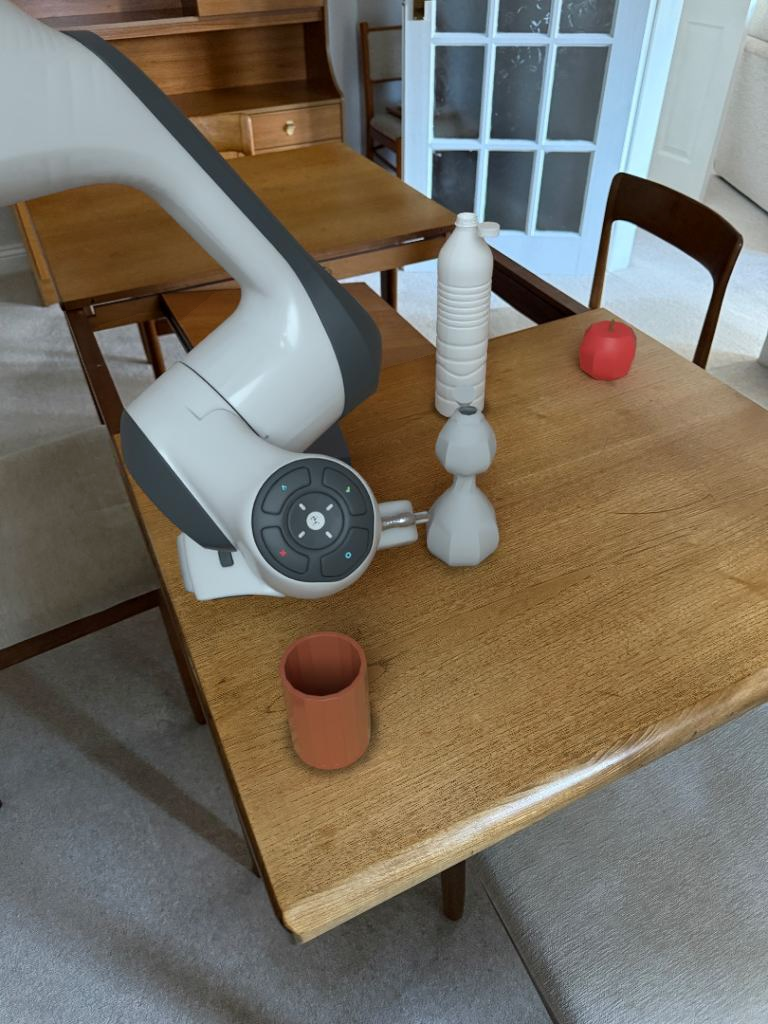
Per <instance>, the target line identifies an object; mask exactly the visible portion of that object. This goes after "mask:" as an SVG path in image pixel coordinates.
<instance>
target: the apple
mask: <svg viewBox="0 0 768 1024" xmlns="http://www.w3.org/2000/svg"><path fill="white" fill-rule="evenodd" d="M578 351H579V363H580V364H579V369H581V371H584V372H585V373H587V374H588V375H589V376H590V377H592V378H593V380H596V381H597V380H598V381H607V382H608V381H612V380H617V379H620V378H622V377H625V376H627V375H628V373H629V371H630V368H631V366H632V364H633V362H634V359H635V356H636V352H637V336H636V334H635V331H634V330H633V328H632V327H631V326H629V325H627V324H625V323H624V322H623V321H615V320H614V319H611V320H604V319H603V320H601V321H597V322H595V323H594V322H593V323H592V324H591V325H590V326H589V327H587V329H586V330H585V332H584V334H583V337H582V339H581V342H580V346H579V349H578Z"/></svg>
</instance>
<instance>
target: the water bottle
mask: <svg viewBox="0 0 768 1024" xmlns="http://www.w3.org/2000/svg"><path fill="white" fill-rule="evenodd" d="M454 225H455V228H454V229H453V231H452V232H451V234H450V235H449V236H448V238H447V240H446V241H445V243H443V245H442V247H441V248H440V250H439V253H438V256H437V262H436V273H437V275H436V276H437V281H436V283H437V285H436V290H437V292H436V297H437V298H436V324H435V325H436V326H435V333H436V338H435V349H436V350H435V361H436V363H435V379H434V380H435V381H434V382H435V383H434V386H435V392H434V407H435V409H436V411H437V412H438V413H439V414H440V415H441V416H443V417H446V418H450V417H451V415H452V414H453V413H454V411H455V410H456V409H457V408H459V407H461V406H459V405H458V404H457V402H456V401H455V399H454V397H453V391H454V389H455V388H456V387H457V386H459V385H470V386H472V387H473V388H474V389H475V391H476V397H475V399H474V400H473V402H472V403H471V404H470V405H469V406H473V407H476V408H478V409H479V411H480V412H481V413H482V411H483V410H484V407H485V397H486V396H485V393H486V392H485V389H486V375H487V360H488V347H489V332H490V311H491V297H492V292H491V291H492V282H493V279H492V277H493V271H494V257H493V252H492V249H491V247H490V245H489V244H488V242H487V240H486V239H493V238H496V237H499V236H500V232H501V231H500V229H501V225H500V224H499V223H498V222H494V221H482V222H479V221H478V215H477V214H476V213H474V212H460V213H458V214H457V215H456V219H455V222H454Z"/></svg>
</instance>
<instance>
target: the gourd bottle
mask: <svg viewBox="0 0 768 1024" xmlns="http://www.w3.org/2000/svg"><path fill="white" fill-rule="evenodd" d="M453 397H454V399H455V401H456V402H457V404H458V405H459V406H461V407H459V408H457V409H456V410H455V411H454V413H453V414H452V415H451V417H448V419H447V421H446V422H445V424H444V425H443V427H442V429H441V430H440V432H439V433H438V435H437V439H436V442H435V447H434V448H435V449H434V453H435V457H436V459H437V460H438V462H439V463H440V464H441V465H442V467H443V468H444V470H446V472H447V473H448V474H451V475H452V474H453V478H452V479H453V480H452V484H451V486H449V487H448V488H447V489H446V490H445V491H444V492H443V493H442V494H441V495H440V496H438V498H437V499H436V500H435V501H433V504H432V505H431V506H430V508H429V510H428V511H427V512H428V514H429V518H428V519H429V521H428V522H425V532H426V533H425V534H426V545H427V549H428V552H429V554H431V555H433V556H434V557H435V558H437V559H439V560H440V561H442V562H443V563H445V564H447V566H449V567H451V568H452V567H453V568H454V567H476V566H478V565H479V564H480V563H481V562H483V561H484V560H485V559H487V558H488V557H490V556H491V555H492V554H493V553H494V552H496V550H497V549H498V546H499V543H500V533H499V527H498V520H497V515H496V510H495V508H494V506H493V504H492V502H491V500H490V499H489V498H488V497H487V496H486V494H485V493H484V492H483V491H482V490H481V489H480V488H479V487H478V486H477V484H476V480H477V479H476V478H477V477H476V475H480V474H482V473H486V472H487V471H488V469H489V468H490V466H491V464H492V462H493V460H494V458H495V456H496V454H497V450H498V449H497V448H498V443H497V438H496V434H495V433H496V432H495V431H494V429H493V428H492V426H491V424H490V423H489V422H488V420H487V419H486V417H485V415H484V413H483V412H482V411H481V412H480V411H479V409H478V408H476V407H473V406H469V405H470V404H471V403H472V402H473V400H474V399H475V397H476V391H475V389H474V388H473V387H472V386H470V385H459V386H457V387H456V388H455V389H454V391H453Z"/></svg>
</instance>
